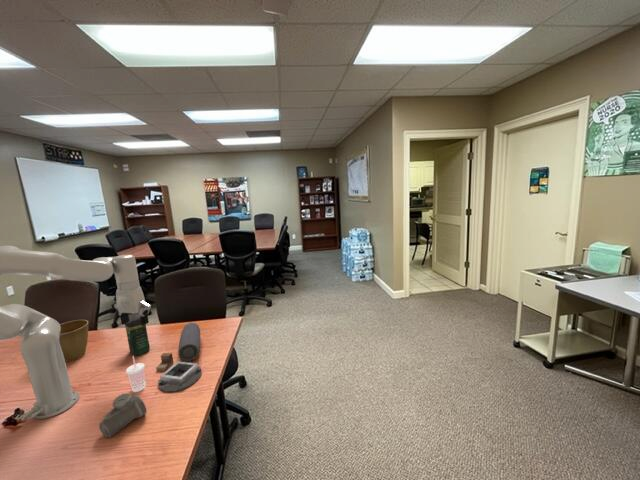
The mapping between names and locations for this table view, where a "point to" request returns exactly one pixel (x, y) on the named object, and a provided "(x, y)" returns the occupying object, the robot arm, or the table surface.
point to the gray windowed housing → (179, 377)
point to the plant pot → (74, 339)
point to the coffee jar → (137, 335)
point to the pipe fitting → (122, 413)
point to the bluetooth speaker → (189, 342)
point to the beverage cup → (136, 376)
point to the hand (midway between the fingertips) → (135, 323)
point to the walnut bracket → (165, 362)
